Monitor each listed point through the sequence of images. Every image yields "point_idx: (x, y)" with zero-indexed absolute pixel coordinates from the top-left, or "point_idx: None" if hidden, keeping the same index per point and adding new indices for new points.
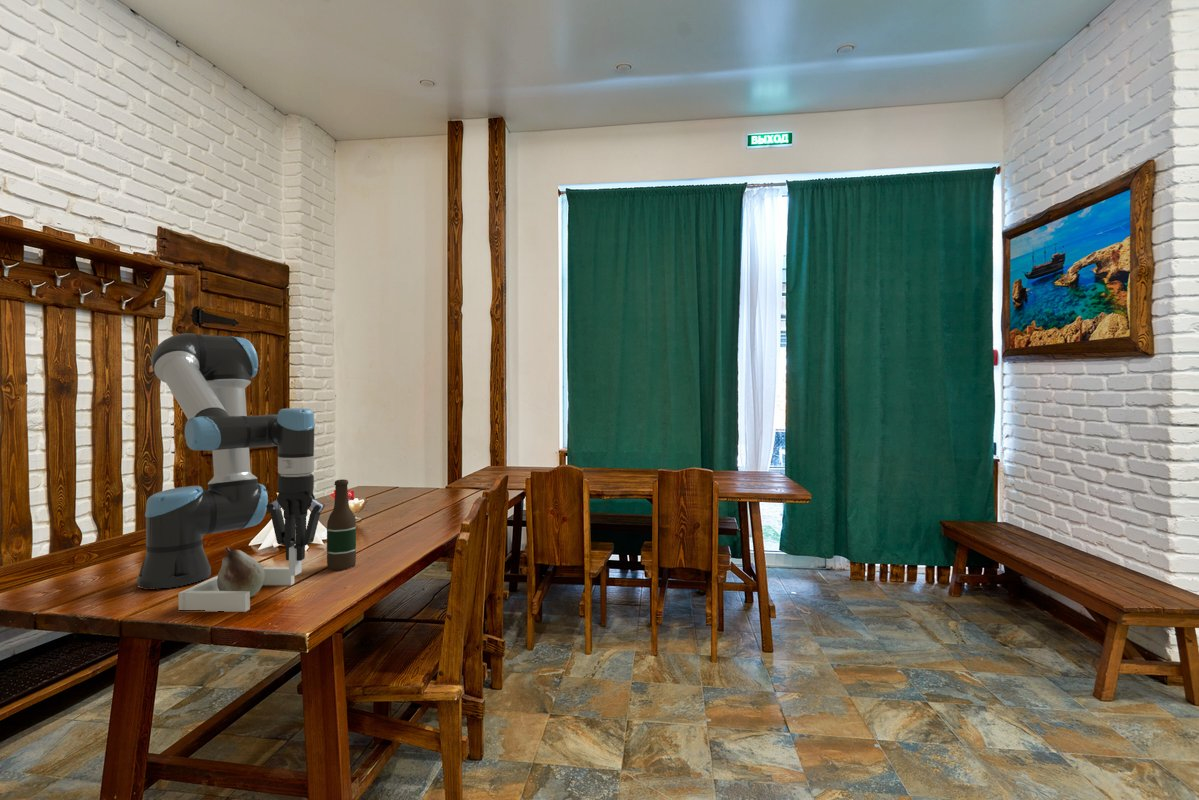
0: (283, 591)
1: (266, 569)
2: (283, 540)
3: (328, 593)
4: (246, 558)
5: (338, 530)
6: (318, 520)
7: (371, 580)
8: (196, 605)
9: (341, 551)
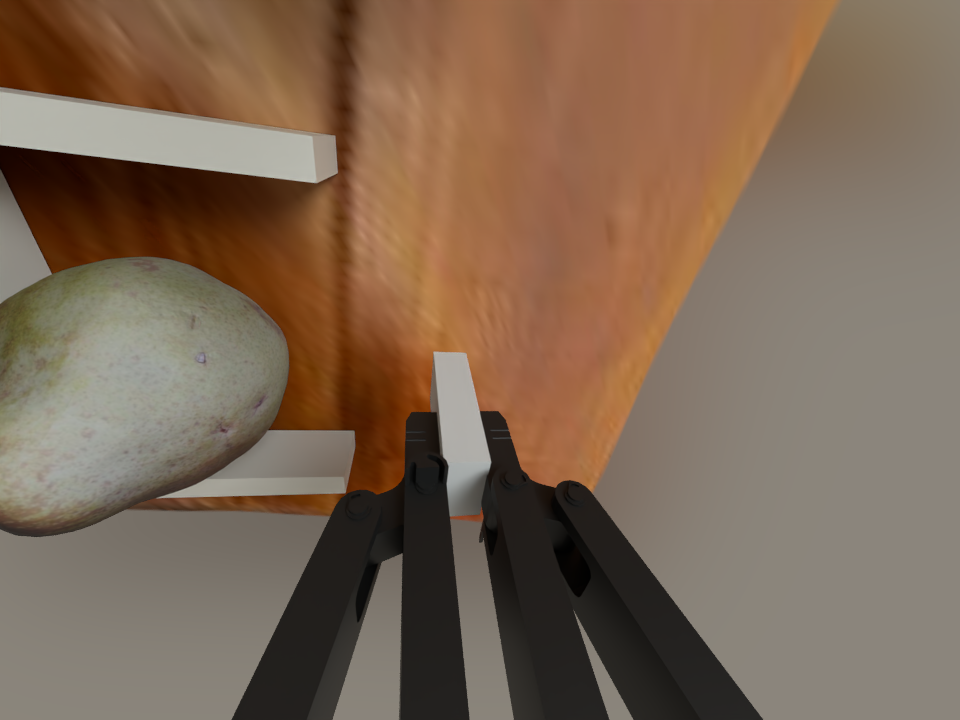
0: (356, 265)
1: (122, 158)
2: (384, 556)
3: (557, 300)
4: (144, 462)
5: None
6: (741, 692)
7: (722, 124)
8: None
9: None
